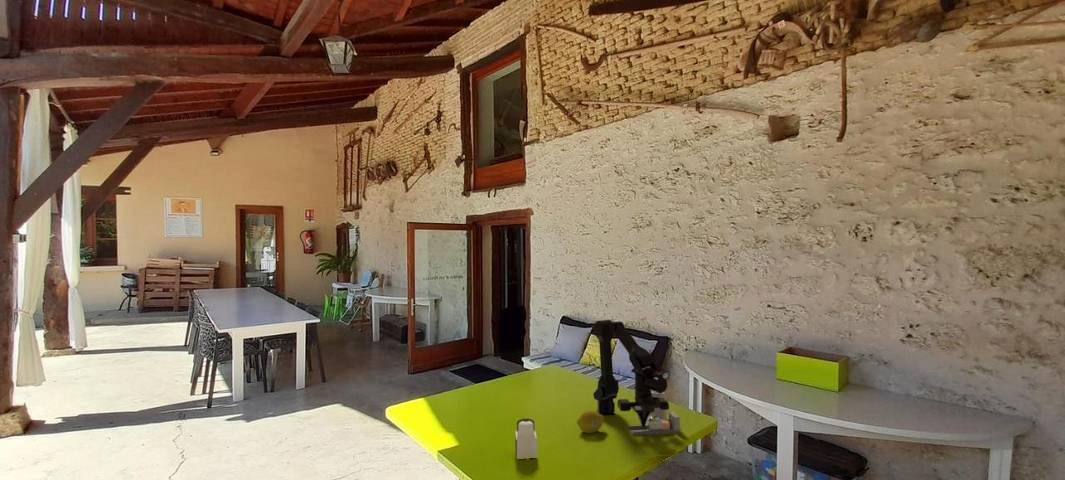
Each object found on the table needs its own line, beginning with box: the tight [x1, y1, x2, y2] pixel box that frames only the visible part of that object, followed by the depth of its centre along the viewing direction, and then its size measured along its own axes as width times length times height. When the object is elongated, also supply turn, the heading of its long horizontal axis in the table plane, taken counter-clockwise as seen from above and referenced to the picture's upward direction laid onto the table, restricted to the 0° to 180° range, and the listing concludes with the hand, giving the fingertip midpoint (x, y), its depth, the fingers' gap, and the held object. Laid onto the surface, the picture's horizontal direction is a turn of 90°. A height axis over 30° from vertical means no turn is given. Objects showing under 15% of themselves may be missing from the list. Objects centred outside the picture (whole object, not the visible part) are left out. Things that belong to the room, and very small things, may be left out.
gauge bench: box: [628, 410, 681, 436], centre depth 183 cm, size 18×6×6 cm, turn 94°
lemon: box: [576, 410, 605, 434], centre depth 183 cm, size 11×8×8 cm
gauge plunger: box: [645, 416, 662, 431], centre depth 183 cm, size 5×4×5 cm
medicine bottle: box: [514, 418, 538, 459], centre depth 164 cm, size 7×7×12 cm
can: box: [648, 390, 668, 421], centre depth 194 cm, size 8×8×12 cm
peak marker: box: [661, 419, 670, 430], centre depth 183 cm, size 3×4×4 cm
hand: (643, 426), depth 182 cm, fingers closed
